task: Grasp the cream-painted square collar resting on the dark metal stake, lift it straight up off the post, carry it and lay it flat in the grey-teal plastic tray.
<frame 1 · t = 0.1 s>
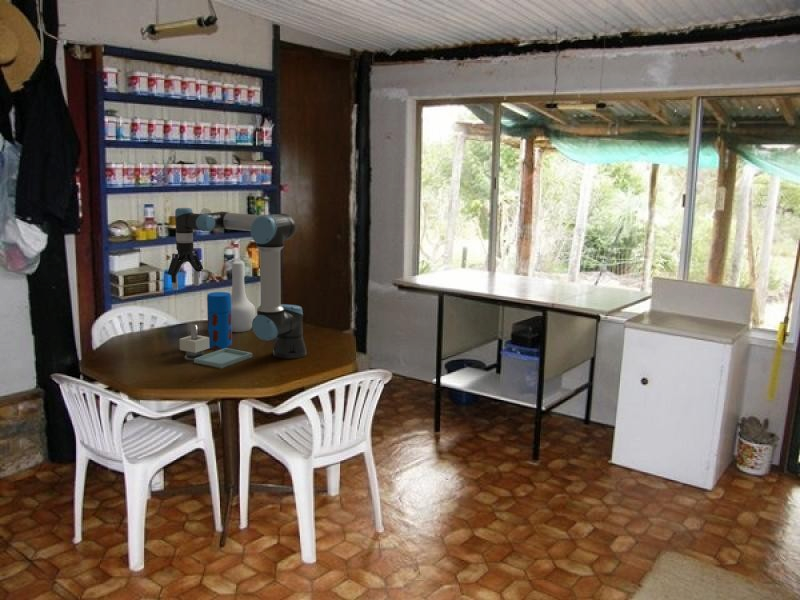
hand: (186, 287, 331), 28 cm above the table, fingers open, 13 cm apart
tray: (223, 360, 315), on the table
stake: (195, 357, 317), on the table
ring: (194, 349, 316), point 4 cm above the table, touching stake
thermos: (220, 346, 337), on the table
vase: (239, 329, 368), on the table
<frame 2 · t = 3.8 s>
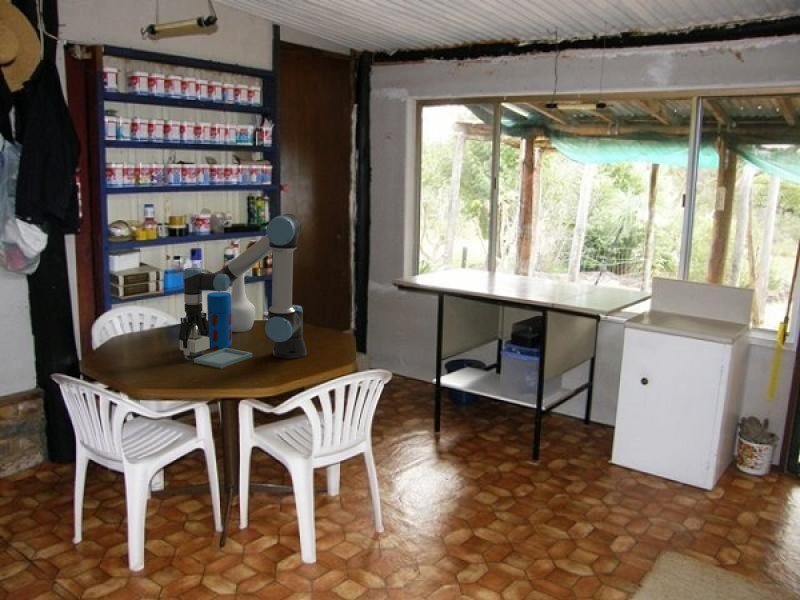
hand: (194, 352, 316), 2 cm above the table, fingers closed on ring, 9 cm apart
ring: (194, 349, 316), point 4 cm above the table, touching gripper, stake
everything else where it was.
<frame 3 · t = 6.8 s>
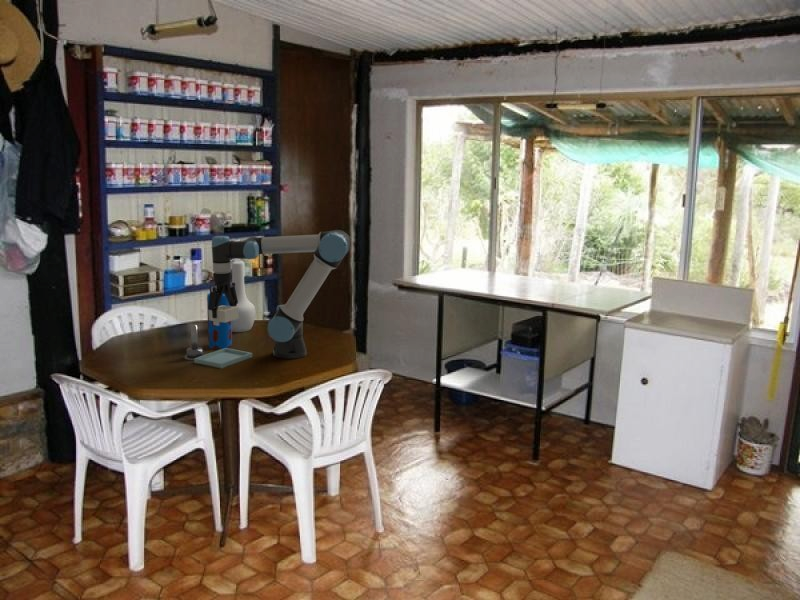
hand: (224, 322, 311), 17 cm above the table, fingers closed on ring, 9 cm apart
ring: (223, 319, 310), point 19 cm above the table, touching gripper
everything else where it was.
when the fingers open (2 cm above the table, at t = 10.1 s): ring drops 3 cm, resting on tray.
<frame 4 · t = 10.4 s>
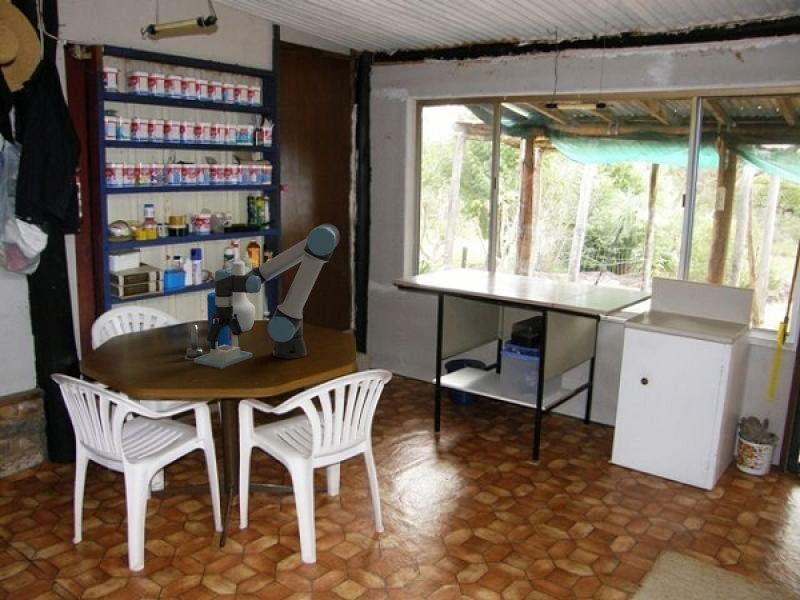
hand: (225, 352, 313), 4 cm above the table, fingers open, 12 cm apart
ring: (225, 359, 314), resting on tray
everything else where it was.
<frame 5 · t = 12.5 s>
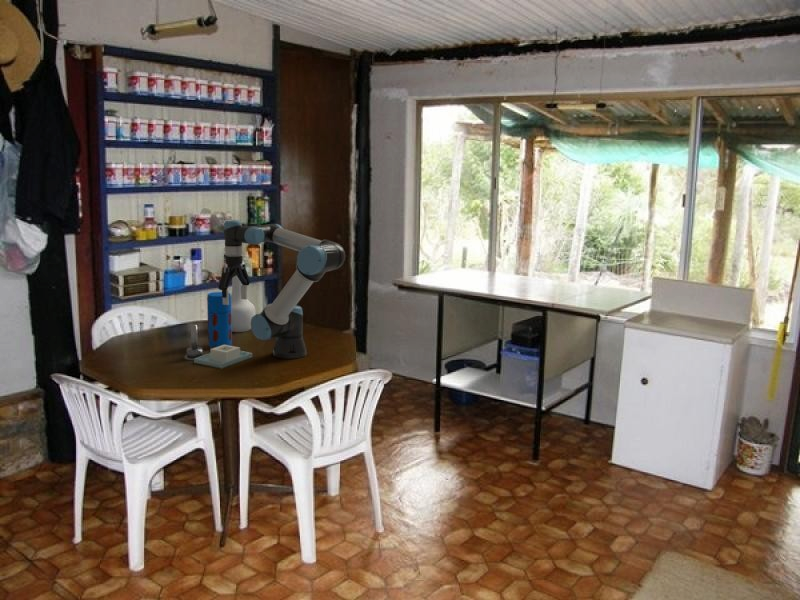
hand: (235, 301, 321), 24 cm above the table, fingers open, 13 cm apart
nothing on the table moved.
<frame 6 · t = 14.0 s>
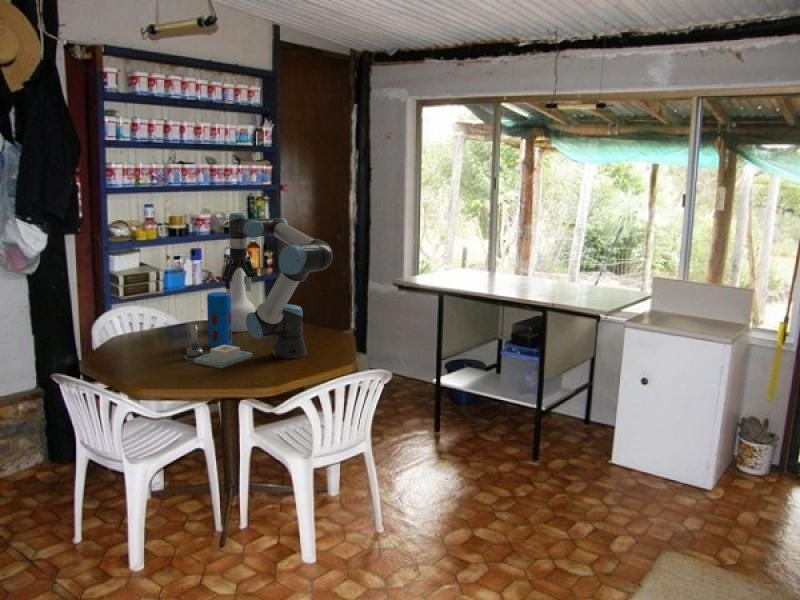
hand: (239, 293, 326), 27 cm above the table, fingers open, 13 cm apart
nothing on the table moved.
at the end: ring inside the target area on the tray (1.0 cm from its centre), point 0.5 cm above the tray's base; ring tilted 0°; the gripper is holding nothing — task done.
